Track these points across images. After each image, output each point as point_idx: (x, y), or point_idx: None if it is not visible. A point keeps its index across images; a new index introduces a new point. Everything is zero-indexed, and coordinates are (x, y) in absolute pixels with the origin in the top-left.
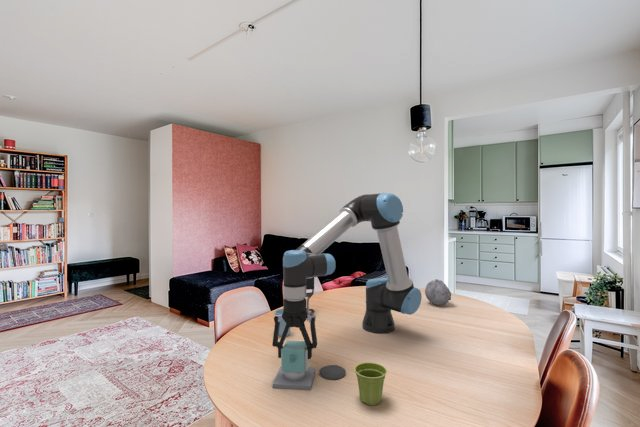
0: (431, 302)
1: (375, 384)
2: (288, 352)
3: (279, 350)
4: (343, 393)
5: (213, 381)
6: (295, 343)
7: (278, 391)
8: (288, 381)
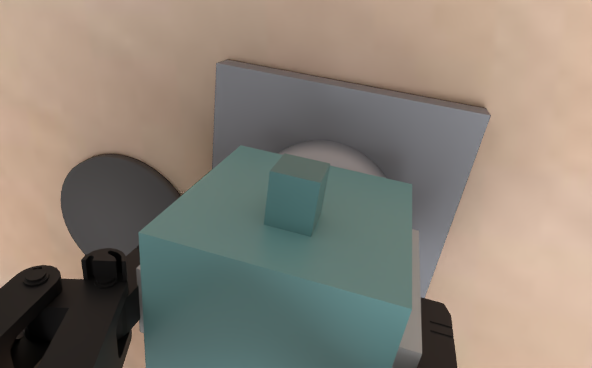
0: None
1: None
2: (331, 261)
3: (439, 358)
4: (48, 9)
5: None
6: None
7: (443, 58)
8: (366, 136)
